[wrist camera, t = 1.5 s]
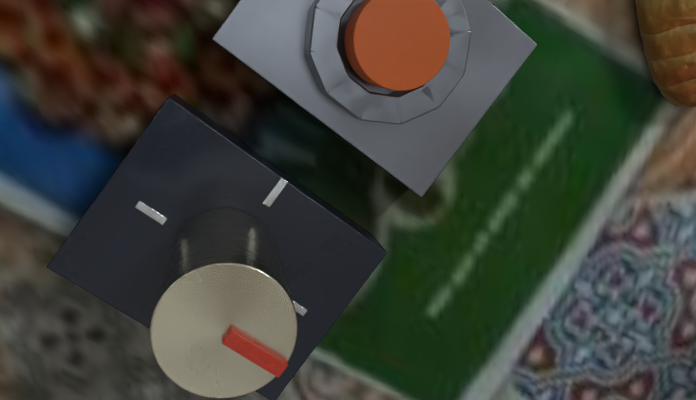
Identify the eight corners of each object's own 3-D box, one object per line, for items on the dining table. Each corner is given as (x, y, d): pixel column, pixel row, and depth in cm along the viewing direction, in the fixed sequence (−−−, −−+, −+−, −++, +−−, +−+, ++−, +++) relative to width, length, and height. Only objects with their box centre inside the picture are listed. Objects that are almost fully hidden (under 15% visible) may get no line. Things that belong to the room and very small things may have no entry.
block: (212, 40, 30) (210, 37, 26) (329, -122, 30) (344, -149, 26) (409, 188, 33) (433, 206, 30) (518, 45, 33) (556, 43, 29)
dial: (147, 273, 29) (117, 357, 21) (211, 186, 28) (206, 237, 20) (237, 329, 30) (242, 428, 22) (299, 246, 30) (327, 316, 22)
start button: (325, 49, 28) (332, 49, 26) (382, -28, 27) (394, -35, 25) (397, 107, 29) (410, 111, 27) (452, 32, 28) (469, 30, 26)
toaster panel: (62, 247, 31) (45, 268, 28) (174, 93, 30) (168, 97, 27) (269, 373, 34) (274, 404, 31) (373, 235, 34) (388, 253, 30)
